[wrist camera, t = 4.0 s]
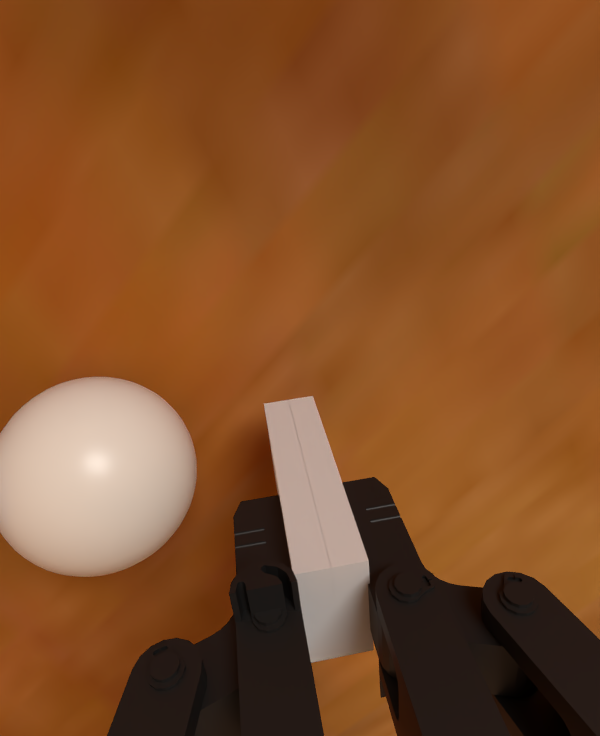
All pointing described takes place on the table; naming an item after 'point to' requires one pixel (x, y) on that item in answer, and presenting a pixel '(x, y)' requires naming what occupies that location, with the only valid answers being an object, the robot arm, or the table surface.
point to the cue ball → (94, 476)
